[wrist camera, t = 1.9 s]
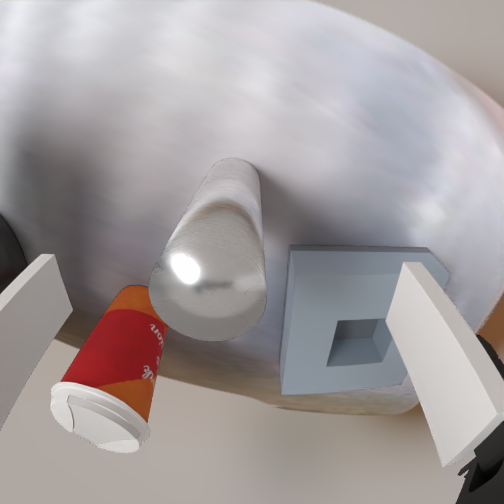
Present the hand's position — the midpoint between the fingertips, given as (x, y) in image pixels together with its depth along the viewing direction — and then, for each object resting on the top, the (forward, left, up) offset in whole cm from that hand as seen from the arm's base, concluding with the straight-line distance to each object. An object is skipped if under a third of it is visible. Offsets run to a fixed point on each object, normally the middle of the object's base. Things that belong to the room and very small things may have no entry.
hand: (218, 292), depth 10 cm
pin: (0, 0, -14) cm, 14 cm away
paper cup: (-9, -12, -14) cm, 20 cm away
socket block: (+11, -12, -14) cm, 21 cm away
